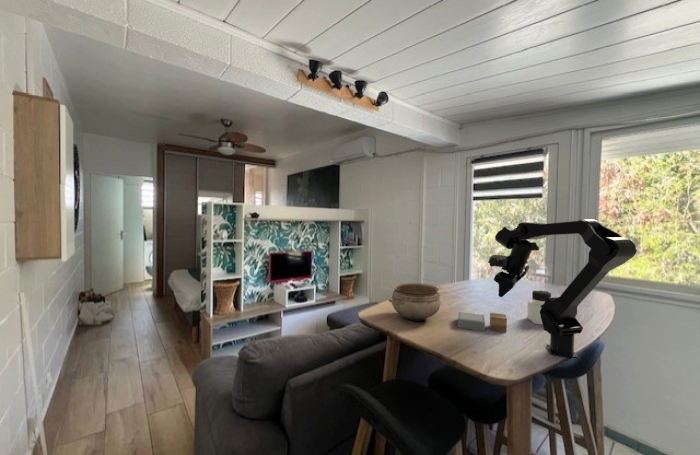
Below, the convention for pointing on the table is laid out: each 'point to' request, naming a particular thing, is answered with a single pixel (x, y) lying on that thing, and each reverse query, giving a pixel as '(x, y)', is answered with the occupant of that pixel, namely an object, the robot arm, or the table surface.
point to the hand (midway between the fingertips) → (504, 292)
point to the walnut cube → (498, 322)
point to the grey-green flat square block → (471, 321)
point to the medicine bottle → (537, 305)
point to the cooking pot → (415, 300)
